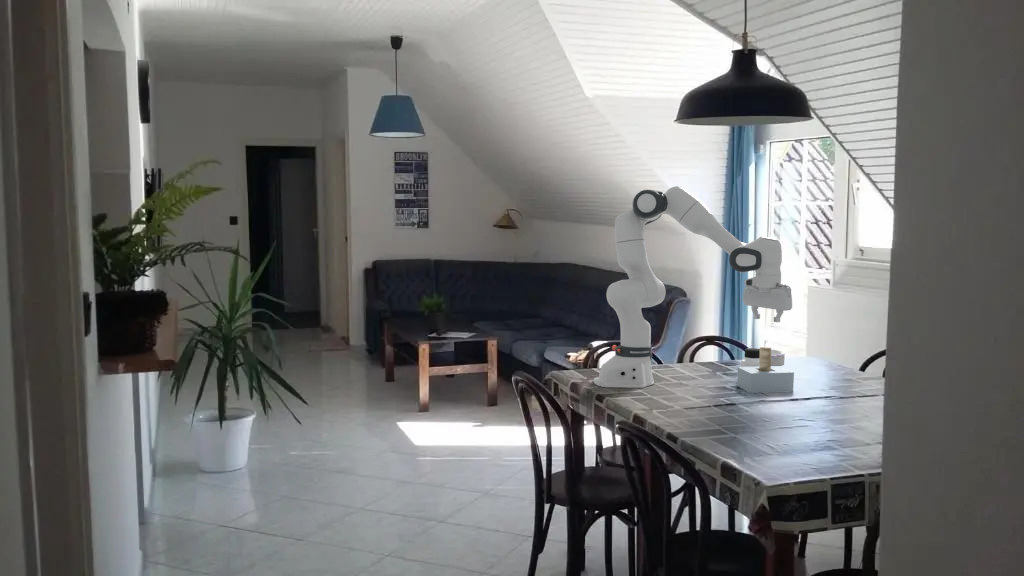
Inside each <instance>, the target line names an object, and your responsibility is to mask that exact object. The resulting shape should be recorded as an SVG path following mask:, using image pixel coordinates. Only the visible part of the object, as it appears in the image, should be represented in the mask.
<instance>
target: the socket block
mask: <svg viewBox="0 0 1024 576" xmlns="http://www.w3.org/2000/svg"><path fill="white" fill-rule="evenodd" d="M794 378H795V372H794V371H792V370H789V369H788V368H785V367H782V366H771V371H759V367H741V366H737V379H736V383H737V385H736V386H737V387H739V388H740V389H742V390H744V391H745V392H748V393H751V394H756V393H757V394H758V393H759V394H761V393H762V394H763V393H764V394H765V393H766V394H767V393H790V392H791V393H792V392H794V385H795V384H794V382H795V381H794V380H795V379H794Z"/></svg>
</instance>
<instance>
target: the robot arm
mask: <svg viewBox="0 0 1024 576" xmlns="http://www.w3.org/2000/svg"><path fill="white" fill-rule="evenodd" d="M662 215H668V216H669V217H670V216H671V218H673V219H674V220H675V221H676V222H677V223H678V224H680V226H682V227H683V228H684V229H685V230H686V229H687V231H689V232H691V233H692V234H694V235H700V236H702V237H705V238H707V239H709V240H711V241H712V242H714V243H715V244H717V246H719V248H721V249H722V250H723V251H724V252H726V253H727V254H728V255H729V258H728V261H729V264H730V267H731V268H732V269H733V270H734V271H736V272H738V273H747V272H752V271H754V272H755V276H753V277H750V278H747V279H745V280H744V286H745V287H744V288H743V295H742V296H743V297H742V302H743V304H744V305H745V306H749V307H751V311H752V313H753V319H755V320H760V319H761V314H760V313H759V311H758V310H759V308H762V309H768V310H769V309H770V310H775V313H776V315H775V316H773V322H774V323H781V317H782V315H783V314H784V311H785V312H787V311H791V310H792V309H793V295H792V288H791V287H790V286H789V285H788V284H785V283H784V284H783V283H782V271H781V265H782V260H783V259H782V258H783V257H782V256H783V255H782V253H783V252H782V251H783V250H782V244H781V242H780V241H779V240H778V238H773V237H769V236H759V237H758V238H756V239H755V240H753V241H751V242H748V243H746V242H744V241H741V240H740V239H738V238H737V237H736V236H734V234H732V233H731V232H730V231H729V230H728V229H726V228H725V227H724V226H723V225H722V224H721V223H720V222H719V220H718V219H717V218H716V217H715V215H714V214H713V213H712V212H711V210H710V209H709V208H708V207H707V206H706V204H704V203H703V202H702V201H701V200H700V199H699V198H697V196H695V195H694V194H692V193H691V192H690V191H688V190H686V189H684V188H683V187H681V186H679V185H674V186H673V187H670V188H669V189H668V190H666V191H665V192H663V191H658V190H654V189H643V190H640V191H639V192H637V194H635V196H634V198H633V200H632V208H631V210H629V211H625V212H622V213H620V214H619V215H617V216H616V218H615V219H614V220H615V221H614V242H615V251H616V260H617V264H618V266H619V267H620V268H621V269H622V270H624V271H625V273H626V274H627V277H628V279H621V280H618V281H615V282H612V283H611V284H610V285H608V287H607V289H606V294H605V295H606V300H607V303H608V305H609V306H610V307H611V308H612V309H613V310H614V311H615V312H616V315H617V318H618V320H619V325H620V344H619V345H618V346H617V345H616V344H613V345H612V346H611V349H612V351H614V353H615V355H614V356H612V357H611V358H610V359H608V360H607V361H605V362H604V363H602V365H601V367H600V370H599V375H598V377H597V376H596V377H594V378H593V384H595V385H596V386H597V387H598V386H599V387H602V388H631V389H632V388H635V389H636V388H637V389H638V388H639V389H643V388H646V387H648V386H652V385H654V384H655V381H654V376H653V371H652V363H651V362H652V357H653V348H652V344H651V343H652V342H651V339H652V337H651V335H652V334H651V333H652V327H651V324H650V322H649V321H648V320H646V319H645V317H644V316H643V312H642V309H643V308H652V307H655V306H657V305H659V304H662V303H663V301H664V300H665V298H666V287H665V285H664V283H663V281H661V280H660V279H659V278H658V277H657V276H656V275H655V273H654V271H653V270H652V269H653V268H652V267H651V264H650V261H649V258H648V252H647V243H646V237H645V226H646V225H649V224H651V223H653V222H655V221H657V220H658V219H660V218H661V217H662Z"/></svg>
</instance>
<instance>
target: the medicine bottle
mask: <svg viewBox="0 0 1024 576" xmlns="http://www.w3.org/2000/svg"><path fill="white" fill-rule="evenodd" d="M759 360H760V349H757V348H756V347H748V348H745V349H744V359H741V360H740V367H759Z"/></svg>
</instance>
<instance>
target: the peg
mask: <svg viewBox="0 0 1024 576" xmlns="http://www.w3.org/2000/svg"><path fill="white" fill-rule="evenodd" d="M759 348H760V360H759V371H771V349H772V347H769V346H760V347H759Z"/></svg>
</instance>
